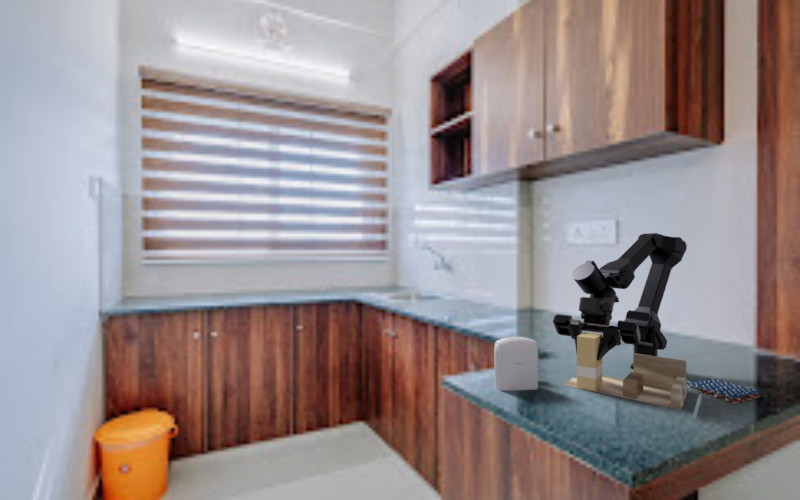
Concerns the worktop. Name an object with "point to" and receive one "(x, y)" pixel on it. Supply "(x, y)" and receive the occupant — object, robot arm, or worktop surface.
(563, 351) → the worktop surface
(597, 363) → the tea box
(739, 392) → the woven mat
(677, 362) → the wooden blocks on plank
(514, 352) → the photo printer
